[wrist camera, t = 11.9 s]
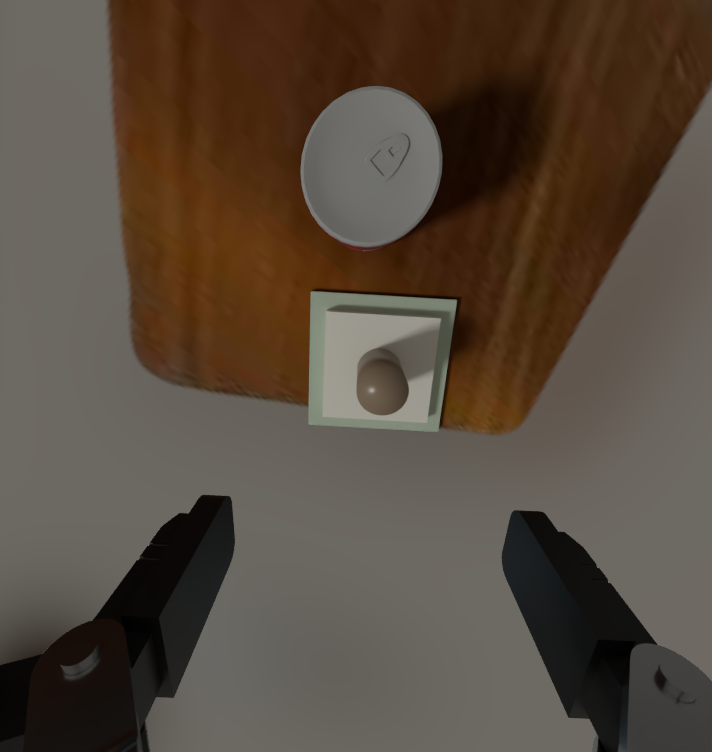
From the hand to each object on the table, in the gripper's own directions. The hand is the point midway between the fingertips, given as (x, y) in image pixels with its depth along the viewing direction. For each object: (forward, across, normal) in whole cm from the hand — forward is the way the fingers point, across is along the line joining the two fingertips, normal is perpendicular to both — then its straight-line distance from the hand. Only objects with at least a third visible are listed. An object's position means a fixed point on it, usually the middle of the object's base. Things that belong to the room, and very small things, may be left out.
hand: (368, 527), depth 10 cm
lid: (+24, -2, +2) cm, 24 cm away
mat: (+24, -2, +2) cm, 24 cm away
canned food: (+25, 0, -12) cm, 27 cm away
